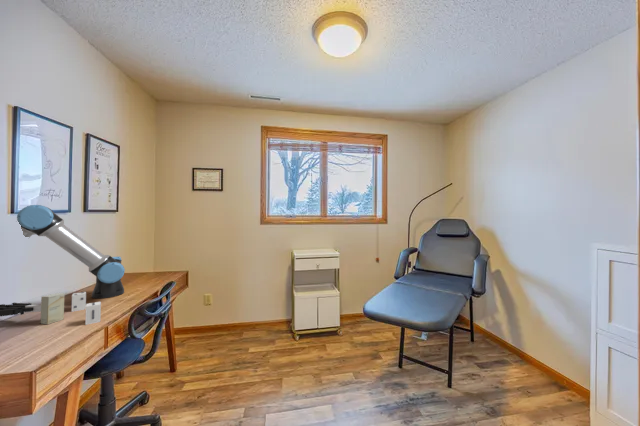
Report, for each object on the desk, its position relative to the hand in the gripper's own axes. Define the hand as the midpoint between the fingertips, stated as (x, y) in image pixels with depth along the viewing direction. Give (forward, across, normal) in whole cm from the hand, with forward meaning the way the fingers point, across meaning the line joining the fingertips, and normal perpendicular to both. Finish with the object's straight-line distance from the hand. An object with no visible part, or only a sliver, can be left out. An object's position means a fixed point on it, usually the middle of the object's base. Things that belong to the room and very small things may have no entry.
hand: (43, 307), depth 113 cm
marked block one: (+22, +3, -6) cm, 23 cm away
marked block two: (+4, -15, -6) cm, 17 cm away
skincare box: (+3, 0, -7) cm, 7 cm away
